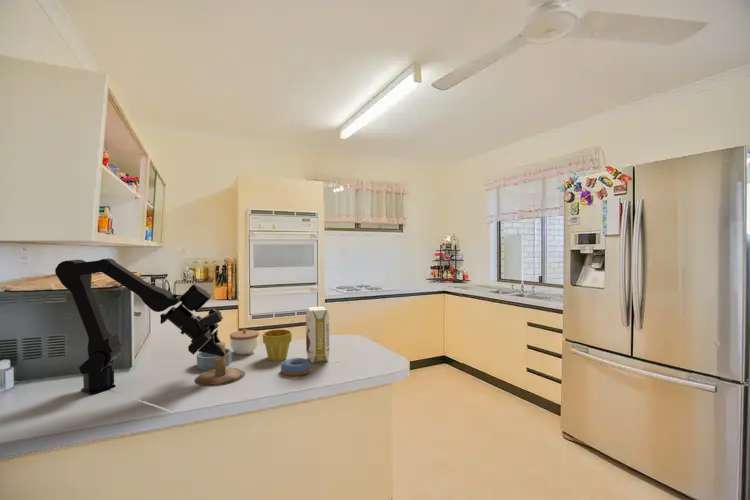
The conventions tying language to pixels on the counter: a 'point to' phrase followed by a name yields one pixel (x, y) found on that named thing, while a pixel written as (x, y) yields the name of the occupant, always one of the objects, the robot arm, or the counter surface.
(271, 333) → the plant pot
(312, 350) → the juice carton
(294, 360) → the doughnut
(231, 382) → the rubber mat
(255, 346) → the lidded jar
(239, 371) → the walnut lid
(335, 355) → the counter surface
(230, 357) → the ceramic bowl
